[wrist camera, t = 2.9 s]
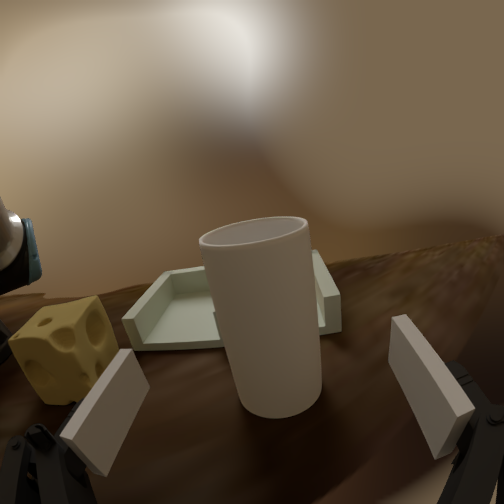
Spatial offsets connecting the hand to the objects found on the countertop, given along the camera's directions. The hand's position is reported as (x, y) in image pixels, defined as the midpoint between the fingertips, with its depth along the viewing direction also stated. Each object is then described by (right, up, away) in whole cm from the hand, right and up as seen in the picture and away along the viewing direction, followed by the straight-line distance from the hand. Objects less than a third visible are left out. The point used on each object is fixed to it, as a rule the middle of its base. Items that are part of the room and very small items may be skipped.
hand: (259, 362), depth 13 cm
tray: (-3, -4, +30) cm, 30 cm away
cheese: (-22, -12, +16) cm, 30 cm away
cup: (+2, -8, +13) cm, 15 cm away
